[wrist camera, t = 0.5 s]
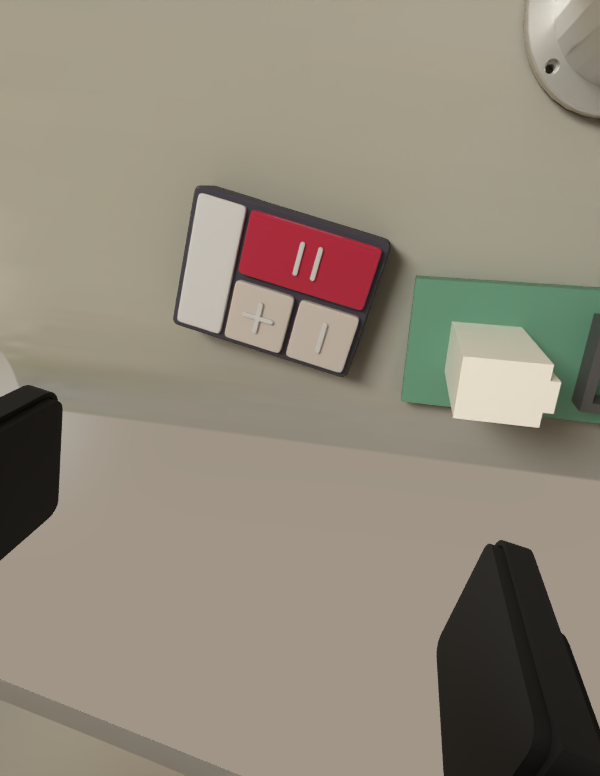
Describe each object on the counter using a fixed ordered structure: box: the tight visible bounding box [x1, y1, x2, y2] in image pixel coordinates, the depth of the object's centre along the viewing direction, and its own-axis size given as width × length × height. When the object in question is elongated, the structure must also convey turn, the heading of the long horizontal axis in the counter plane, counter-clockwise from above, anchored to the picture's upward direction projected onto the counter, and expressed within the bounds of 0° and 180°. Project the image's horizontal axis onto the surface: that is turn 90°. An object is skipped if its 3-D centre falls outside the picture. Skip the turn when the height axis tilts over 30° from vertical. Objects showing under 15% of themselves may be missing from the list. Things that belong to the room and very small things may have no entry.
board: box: [401, 276, 600, 424], centre depth 36 cm, size 22×10×4 cm, turn 88°
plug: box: [445, 321, 561, 428], centre depth 33 cm, size 6×4×9 cm
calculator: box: [173, 186, 390, 377], centre depth 39 cm, size 11×4×15 cm
